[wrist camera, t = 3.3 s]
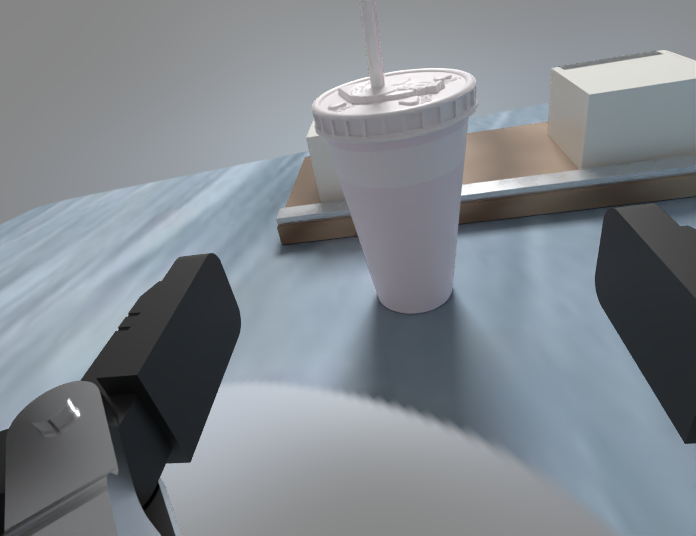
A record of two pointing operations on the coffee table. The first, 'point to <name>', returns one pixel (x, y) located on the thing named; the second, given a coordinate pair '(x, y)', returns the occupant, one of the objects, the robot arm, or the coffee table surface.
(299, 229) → the rail board
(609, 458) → the coffee table surface
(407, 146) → the smoothie
